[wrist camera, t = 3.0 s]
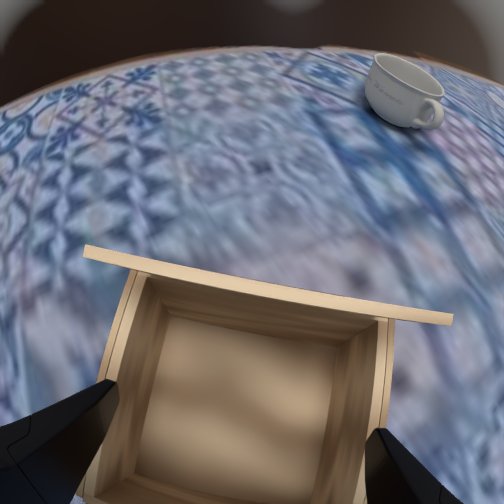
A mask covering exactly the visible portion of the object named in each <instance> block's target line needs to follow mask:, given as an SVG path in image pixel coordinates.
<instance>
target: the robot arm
mask: <svg viewBox="0 0 504 504" xmlns="http://www.w3.org/2000/svg"><path fill="white" fill-rule="evenodd" d="M119 401H120V396H119V388H118V383H117V382H116V381H113V380H110V379H104V380H102V381H100V382H98V383H96V384H94V385H92V386H90V387H88V388H86V389H84V390H82V391H80V392H78V393H76V394H74V395H72V396H70V397H68V398H66V399H63V400H61V401H59V402H57V403H55V404H53V405H51V406H49V407H46V408H44V409H42V410H40V411H38V412H36V413H34V414H32V416H31V415H29V416H27V417H25V418H22V419H20V420H17V421H15V422H13V423H10V424H7V425H4V426H1V427H0V504H70V503H71V501H72V499H73V497H74V495H75V493H76V491H77V489H78V487H79V485H80V483H81V481H82V480H83V478H84V476H85V474H86V472H87V470H88V468H89V466H90V465H91V463H92V461H93V459H94V457H95V455H96V454H97V452H98V450H99V448H100V446H101V444H102V443H103V441H104V439H105V437H106V435H107V432H108V430H109V427H110V425H111V422H112V420H113V417H114V415H115V412H116V410H117V407H118V405H119ZM365 488H366V497H367V504H463V503H462V502H461V501H460V500H458V499H457V498H456V497H455V496H454V495H453V494H452V493H451V492H449V491H448V490H447V489H446V488H445V487H444V486H443V485H442V484H441V483H440V482H439V481H438V480H437V479H436V478H435V477H434V476H433V475H432V474H431V473H430V472H429V471H428V470H427V469H426V468H425V467H424V466H423V465H422V464H421V463H420V462H419V461H418V460H417V459H416V458H415V457H414V456H413V455H412V454H411V453H410V452H409V451H408V450H407V449H406V448H405V447H404V446H403V445H402V444H401V443H400V442H399V441H398V440H397V439H396V438H395V437H394V436H393V435H392V434H391V433H390V431H389V430H388V429H386V428H375V429H374V430H373V431H372V433H371V434H370V436H369V437H368V439H367V440H366V443H365Z"/></svg>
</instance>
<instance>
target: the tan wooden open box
mask: <svg viewBox="0 0 504 504" xmlns="http://www.w3.org/2000/svg"><path fill="white" fill-rule="evenodd" d="M394 330H395V319H389V318H381V317H374V316H368V315H361V314H355V313H348V312H342V311H336V310H330V309H324V308H318V307H312V306H306V305H301V304H295V303H289V302H284V301H279V300H273V299H268V298H262V297H257V296H252V295H247V294H242V293H237V292H232V291H227V290H222V289H217V288H212V287H207V286H203V285H198V284H193V283H189V282H184V281H179V280H175V279H170V278H166V277H161V276H157V275H153V274H148V273H144V272H140V271H136V270H132V269H131V271H130V274H129V276H128V279H127V282H126V285H125V288H124V291H123V294H122V297H121V300H120V303H119V306H118V309H117V312H116V315H115V318H114V321H113V325H112V328H111V331H110V334H109V338H108V341H107V345H106V348H105V352H104V355H103V359H102V363H101V366H100V370H99V374H98V378H97V382H96V383H98V382H100V381H102V380H104V379H110V380H113V381H116V382H117V383H118V388H119V396H120V401H119V405H118V407H117V410H116V412H115V415H114V417H113V420H112V422H111V425H110V427H109V430H108V432H107V435H106V437H105V439H104V441H103V443H102V444H101V446H100V448H99V450H98V452H97V454H96V455H95V457H94V459H93V461H92V463H91V465H90V466H89V468H88V470H87V472H86V474H85V476H84V478H83V480H82V481H81V483H80V485H79V487H78V489H77V491H76V495H77V496H79V497H81V498H83V502H86V504H367V497H366V488H365V443H366V440H367V439H368V437H369V436H370V434H371V433H372V431H373V430H374V429H375V428H386V423H387V416H388V408H389V400H390V390H391V380H392V367H393V352H394Z"/></svg>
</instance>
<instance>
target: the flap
mask: <svg viewBox="0 0 504 504" xmlns="http://www.w3.org/2000/svg"><path fill="white" fill-rule="evenodd" d="M83 257H87V258H90V259H94V260H98V261H101V262H105V263H109V264H113V265H117V266H121V267H124V268H128V269H132V270H136V271H140V272H144V273H148V274H153V275H157V276H161V277H166V278H170V279H175V280H179V281H184V282H189V283H193V284H198V285H203V286H207V287H212V288H217V289H222V290H227V291H232V292H237V293H242V294H247V295H252V296H257V297H262V298H268V299H273V300H279V301H284V302H289V303H295V304H301V305H306V306H312V307H318V308H324V309H330V310H336V311H342V312H348V313H355V314H361V315H368V316H374V317H381V318H389V319H397V320H405V321H413V322H421V323H430V324H439V325H448V326H452V320H453V314H449V313H442V312H436V311H429V310H422V309H416V308H409V307H403V306H397V305H391V304H384V303H378V302H372V301H366V300H360V299H354V298H348V297H345V296H340V295H334V294H329V293H323V292H317V291H312V290H306V289H301V288H295V287H290V286H285V285H279V284H274V283H269V282H263V281H258V280H253V279H248V278H243V277H238V276H232V275H227V274H222V273H217V272H212V271H208V270H203V269H195V268H190V267H185V266H181V265H176V264H171V263H166V262H162V261H157V260H152V259H148V258H143V257H139V256H134V255H130V254H125V253H121V252H116V251H112V250H107V249H103V248H99V247H94V246H90V245H85V249H84V253H83Z"/></svg>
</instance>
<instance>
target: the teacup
mask: <svg viewBox="0 0 504 504" xmlns="http://www.w3.org/2000/svg"><path fill="white" fill-rule="evenodd" d="M373 60H374V61H373V63H372V66H371V68H370V71H369V74H368V77H367V80H366V84H365V95H366V97H367V100H368V101H369V103H370V104H371V107H372V108H373V110H374V111H375V112H376V113H377V114H378V115H379V116H380V117H381V118H383V119H384V120H386V121H387V122H389V123H391V124H394V125H396V126H400V127H413V128H416V129H418V128H424V129H429V130H433V129H436V128H438V127H439V126H440V125H441V124H442V122H443V119H444V111H443V108H442V106H441V105H440V103H439V102H440V100H441V98H442V97H443V96H444V94H445V92H444V89H443V87H442V86H441V85H440V83H439V82H438V81H437V80H436V79H435V78H434V77H432V76H431V75H430V74H428V73H427V72H426V71H424V70H423V69H421V68H420V67H418V66H416V65H414V64H413V63H411V62H409V61H406V60H404V59H402V58H399V57H396V56H394V55H389V54H383V53H379V54H376V55H375V56H374V58H373ZM433 112H434V116H433V119H432V121H431V122H428V123H426V122H427V121H428V119H429V118H430V117H431V115H432V114H433Z"/></svg>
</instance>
